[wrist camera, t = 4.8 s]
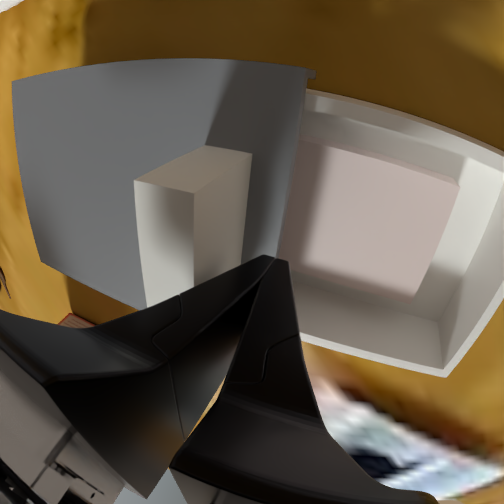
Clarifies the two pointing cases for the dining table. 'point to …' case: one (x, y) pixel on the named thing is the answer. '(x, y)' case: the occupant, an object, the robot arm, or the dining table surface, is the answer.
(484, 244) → the tray
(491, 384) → the dining table surface
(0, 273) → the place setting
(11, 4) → the crumpled cloth
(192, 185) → the lid
